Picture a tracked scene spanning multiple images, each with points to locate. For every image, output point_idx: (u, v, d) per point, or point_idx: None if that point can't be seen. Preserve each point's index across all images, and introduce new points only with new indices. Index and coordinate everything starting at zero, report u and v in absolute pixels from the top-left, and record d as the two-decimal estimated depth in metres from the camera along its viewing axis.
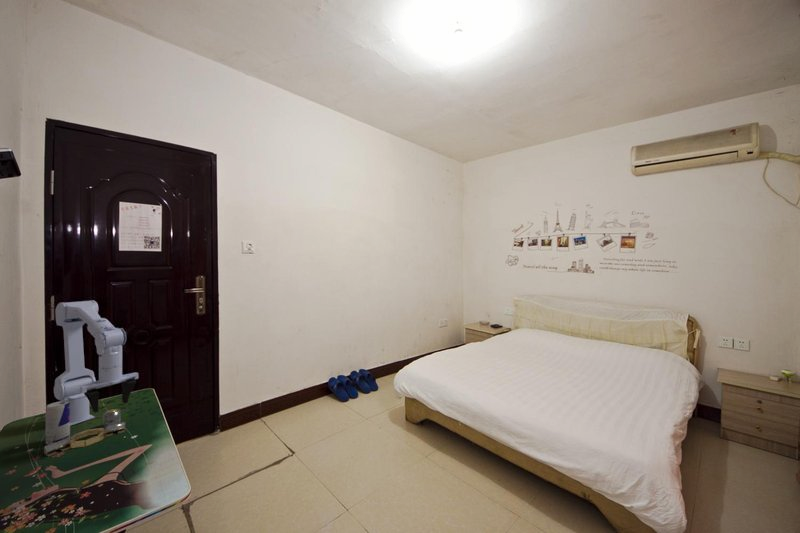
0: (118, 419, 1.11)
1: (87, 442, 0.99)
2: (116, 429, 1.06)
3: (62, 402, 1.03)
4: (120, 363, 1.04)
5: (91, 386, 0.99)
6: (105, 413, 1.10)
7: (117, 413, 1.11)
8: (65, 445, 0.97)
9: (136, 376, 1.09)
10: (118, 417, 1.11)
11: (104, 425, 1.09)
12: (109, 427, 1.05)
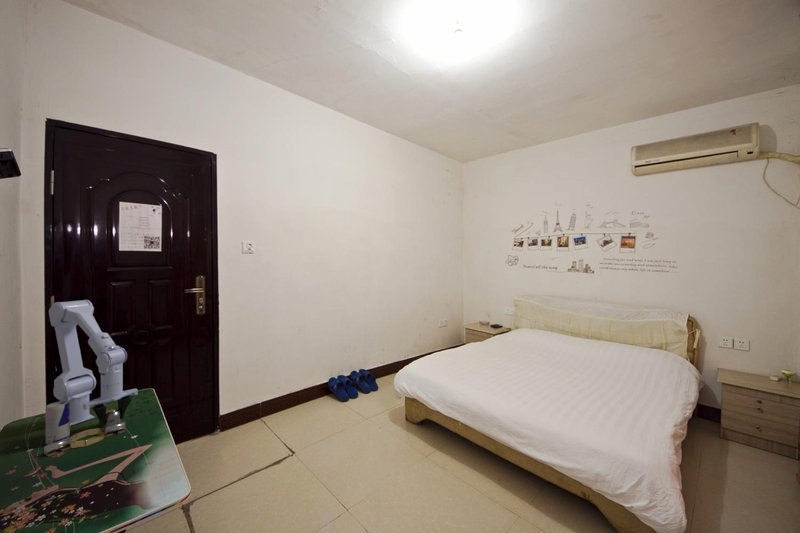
0: (118, 419, 1.11)
1: (87, 442, 0.99)
2: (116, 429, 1.06)
3: (62, 402, 1.03)
4: (122, 380, 1.12)
5: (94, 403, 1.06)
6: None
7: (117, 413, 1.11)
8: (65, 445, 0.97)
9: (136, 392, 1.17)
10: (118, 417, 1.11)
11: (104, 425, 1.09)
12: (109, 427, 1.05)
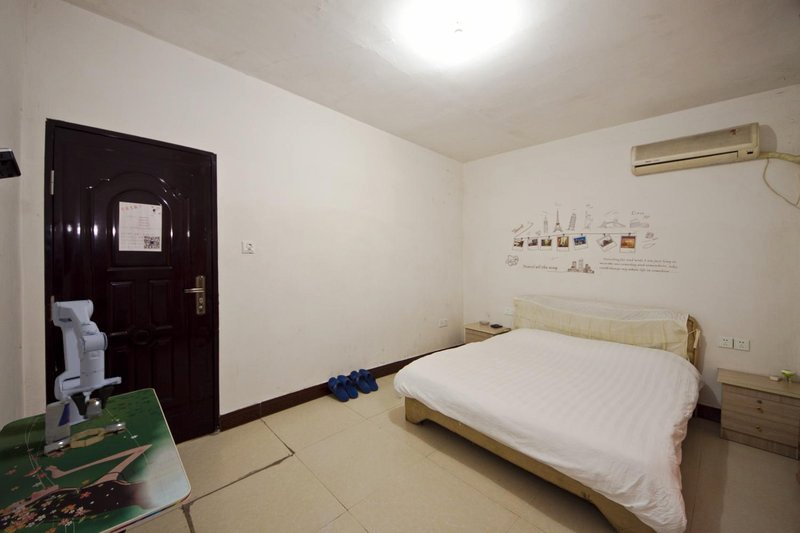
0: (99, 409, 1.04)
1: (87, 442, 0.99)
2: (116, 429, 1.06)
3: (62, 402, 1.03)
4: (101, 368, 1.04)
5: (72, 391, 0.98)
6: (85, 403, 1.02)
7: (98, 403, 1.03)
8: (65, 445, 0.97)
9: (118, 380, 1.09)
10: (99, 407, 1.04)
11: (84, 415, 1.02)
12: (109, 427, 1.05)
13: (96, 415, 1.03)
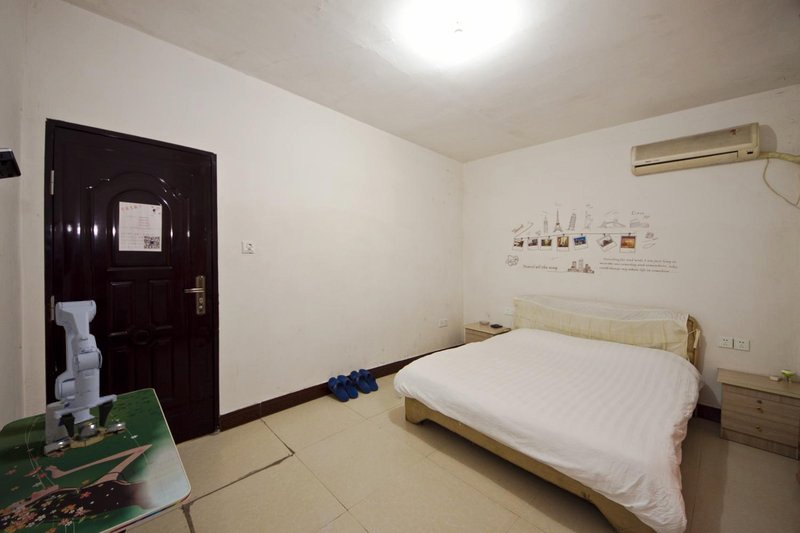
0: (94, 433, 1.02)
1: (87, 442, 0.99)
2: (116, 429, 1.06)
3: (62, 402, 1.03)
4: (95, 387, 1.02)
5: (66, 411, 0.97)
6: (80, 426, 1.01)
7: (93, 426, 1.02)
8: (65, 445, 0.97)
9: (114, 398, 1.07)
10: (94, 431, 1.02)
11: (78, 439, 1.00)
12: (109, 427, 1.05)
13: None
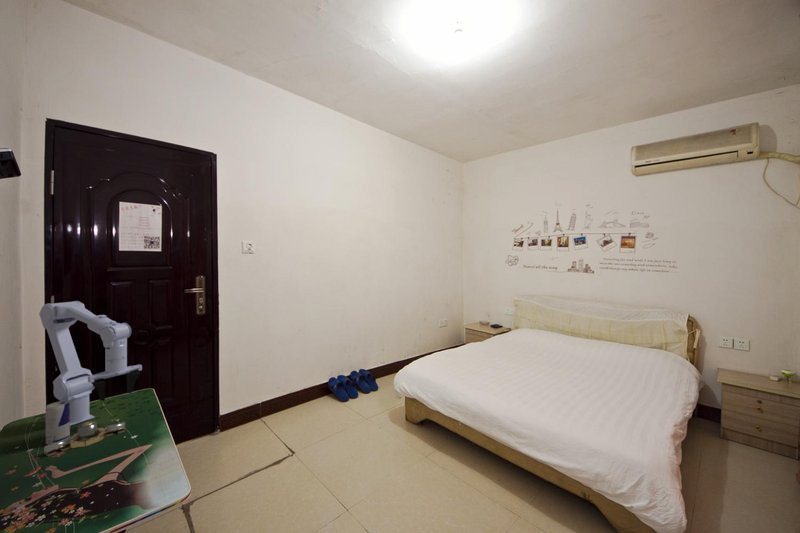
0: (94, 433, 1.02)
1: (87, 442, 0.99)
2: (116, 429, 1.06)
3: (62, 402, 1.03)
4: (126, 355, 1.13)
5: (98, 376, 1.06)
6: (80, 426, 1.01)
7: (93, 426, 1.02)
8: (65, 445, 0.97)
9: (140, 368, 1.17)
10: (94, 431, 1.02)
11: (78, 440, 1.00)
12: (109, 427, 1.05)
13: None
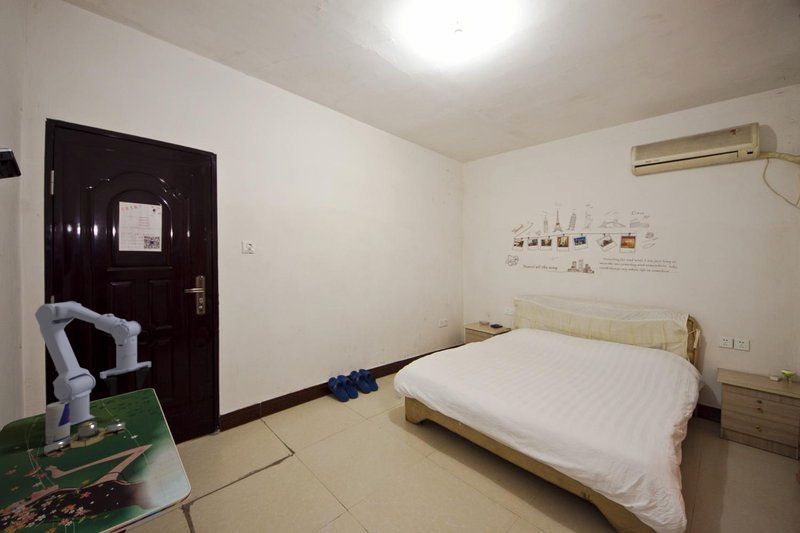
0: (94, 433, 1.02)
1: (87, 442, 0.99)
2: (116, 429, 1.06)
3: (62, 402, 1.03)
4: (136, 351, 1.17)
5: (110, 372, 1.10)
6: (80, 426, 1.01)
7: (93, 426, 1.02)
8: (65, 445, 0.97)
9: (149, 364, 1.21)
10: (94, 431, 1.02)
11: (78, 440, 1.00)
12: (109, 427, 1.05)
13: None
